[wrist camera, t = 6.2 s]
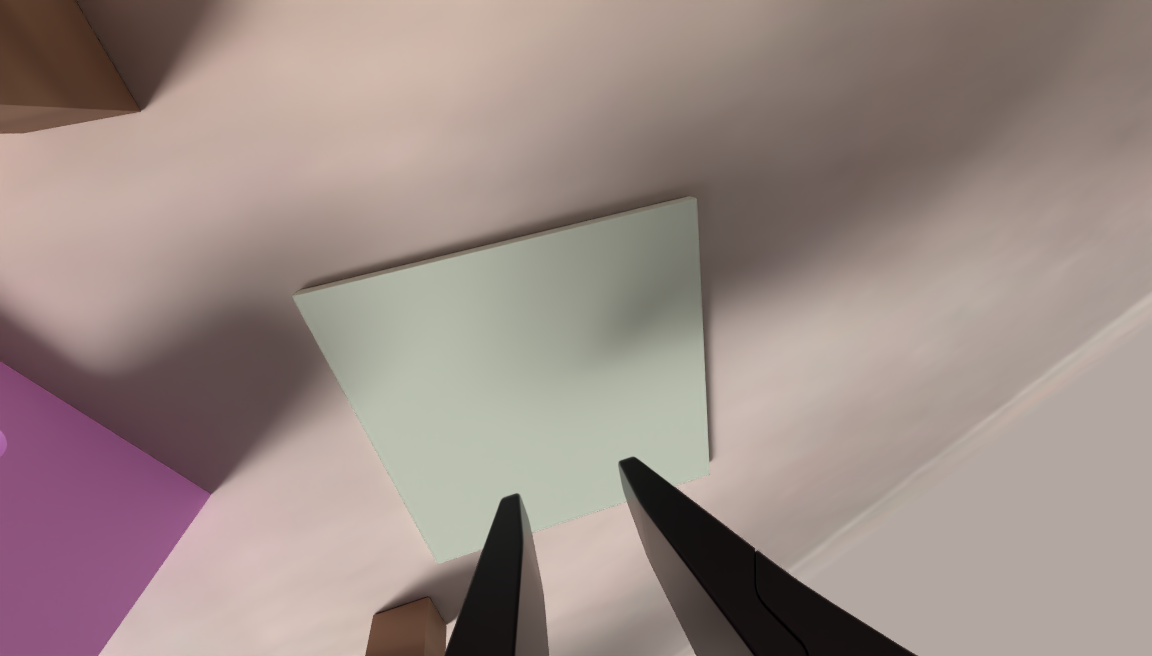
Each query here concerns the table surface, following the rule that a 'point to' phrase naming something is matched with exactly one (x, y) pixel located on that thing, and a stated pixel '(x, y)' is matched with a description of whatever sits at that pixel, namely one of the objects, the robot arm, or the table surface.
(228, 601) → the table surface
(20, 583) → the bracket
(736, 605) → the robot arm
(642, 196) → the table surface
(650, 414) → the felt pad
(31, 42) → the tiny cardboard boxes
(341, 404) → the table surface
